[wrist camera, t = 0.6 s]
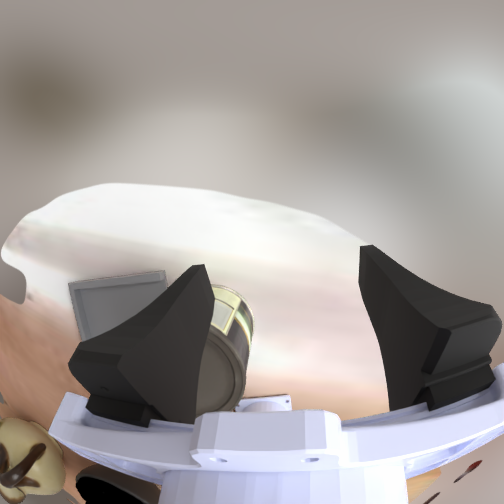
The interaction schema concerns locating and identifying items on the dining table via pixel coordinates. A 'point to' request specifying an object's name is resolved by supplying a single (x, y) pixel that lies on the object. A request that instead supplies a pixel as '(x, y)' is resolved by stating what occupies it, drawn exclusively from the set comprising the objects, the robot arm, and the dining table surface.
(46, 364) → the dining table surface
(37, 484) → the pitcher
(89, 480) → the bowl of black rocks
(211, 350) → the coffee can
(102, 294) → the tray
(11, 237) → the dining table surface
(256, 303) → the dining table surface
